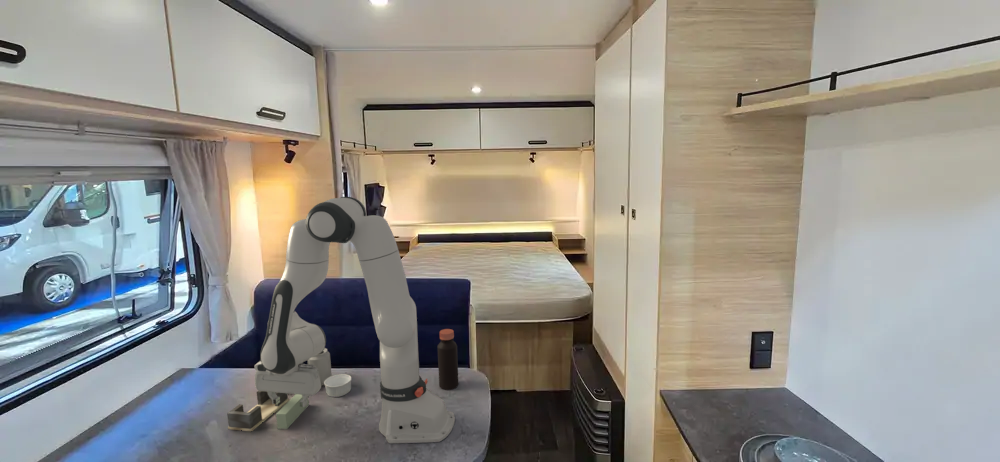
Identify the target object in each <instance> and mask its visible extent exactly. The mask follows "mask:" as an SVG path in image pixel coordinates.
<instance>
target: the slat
mask: <svg viewBox="0 0 1000 462" xmlns="http://www.w3.org/2000/svg"><path fill="white" fill-rule="evenodd" d="M302 399H304V397H302V395H300V394H293V396H292V397H291V398H290V399H289V401H288V402H287V403H286V404H284V405H283V406H282V407H281V408H280V409H278V410H277V411H276V412H275V413H276V414H275V417H276V426H277V427H276V428H277V429H278V430H288V429H289V427H291V425H292V424H293V423H294V422H295V421H296V420H297V419H298V418H299V417H300V415H301V414H302V413H303V412H304V411H305V410H306V409H307V408H308V406H310V405H309V398H308V399H307V406H305V407H300V401H302Z"/></svg>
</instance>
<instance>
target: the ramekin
mask: <svg viewBox="0 0 1000 462" xmlns="http://www.w3.org/2000/svg"><path fill="white" fill-rule="evenodd" d="M323 386H325V392H326V395H327V396H328V397H332V398H338V397H343V396H345V395H347V394H348V393H350V392H351V389H352V376H351V375H350V374H345V373H340V374H339V373H338V374H334V375H332V376H331V377H329V378H327V379H326V380H325V381H324V385H323Z"/></svg>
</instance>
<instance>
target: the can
mask: <svg viewBox="0 0 1000 462" xmlns="http://www.w3.org/2000/svg"><path fill="white" fill-rule="evenodd" d="M306 361H307V365H310V364H311V365H314V366H315V367H316V368H317V369H318V373H319V378H320V383H321V387H323V386H325V385H324V381H325V380H326V379H327V378H329V377H331V376H333V375H332V364H331V363H332V362H331V353H330V352H329V351H328V348H326V347H325V348H324V350H323V351H322V352H320V353H319V354H317V355H315V356H314V357H312V358H310V359H308V360H306Z"/></svg>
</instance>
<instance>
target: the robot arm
mask: <svg viewBox="0 0 1000 462" xmlns="http://www.w3.org/2000/svg"><path fill="white" fill-rule="evenodd" d="M348 242H350V243H352V244H353V247H354V249H355V251H356V255H357V259H358V262H359V265H360V269H361V272H362V276H363V278H364V283H365V285H366V290H367V295H368V302H369V306H370V311H371V315H372V316H371V317H372V321H373V324H374V329H375V332H376V335H377V338H378V341H379V362H380V363H379V364H380V379H381V380H380V382H379V384H380V385H379V390H380V392H379V393H380V398H381V414H380V419H379V420H380V421H379V425H378V430H379V432H380V433H381V435H383V436H384V437H385V440H386V442H387V443H388V444H411V443H413V444H415V443H417V444H418V443H420V444H421V443H439V442H442V441H443V440H445V438H447V437H448V436H449V435H450V433H452V430H453V429H454V426H455V422H456V418H455V413H454V412H453V411H451V410H447V405H446V402H445V400H444V399H443V398H442V397H440V396H438V395H437V394H435V393H434V392H432V390H430V389H428V388H427V384H428V382H429V381H428V378H425V380H423V379H422V376H421V374H420V361H419V342H418V341H419V340H418V336H419V335H418V321H417V319H418V317H417V306H416V302H415V301H414V299H413V298H412V297H411V296H410V292H409V286H408V281H407V277H406V276H407V275H406V273H405V268H404V265H403V262H402V258H401V254H400V251H399V247H398V245H397V244H398V243H397V242H396V238H395V236H394V233H393V231H392V229H391V227H390V225H389V223H388V221H387V219H386V218H384V217H383V216H380V215H377V214H376V215H374V214H373V215H372V214H371V215H367V210H366V207H365V205H364V203H362V202H361V201H360V200H358V199H357V198H354V197H351V196H341V197H335V198H330V199H327V200H325V201H322V202H320V203H317V204H316V205H314V206H313V207H312V208H311V209H310V210H309V211H308V213H307V215H306V218H304V219H300V220H298V221H296V222H294V223H293V224H292V225H291V227H290V229H289V233H288V237H287V243H286V244H287V245H286V254H285V266H284V270H283V273H282V275H281V278H280V280H279V282H278V283H277V284H276V285H275V287H274V290H273V294H272V298H271V304H270V310H269V316H268V321H267V328H266V333H265V337H264V341H263V343H262V346H261V350H260V353H259V354H260V355H259V361H258V362H257V363H256V364H254V370H255V373H254V386H255V389H256V390H257V391H266V392H268V395H269V397H270V398H271V399H272V404H276V405H277V404H278V403H279V402H280V400H279V399H280V397H277V395H276V393H275V392H277V393H287V394H289V395H290V394H292V395H295V394H300V395H302V397H304V399H302V401H300V407H305V406H307V399H308V400H309V397H310V396H315V395H316V394H317V393H318V392H319V391H320V390H321V388H322V386H321V383H320V378H319V373H318V369H317V368H316V367H315V366H314V365H311V364H310V365H308V363H307V364H305V363H304V362H306V361H307V360H308V359H310V358H312V357H314V356H315V355H317V354H319V353H320V352H322V351H323V350H324V348H326V345H327V344H326V343H327V338H326V334H325V332H324V329H323V328H322V327H321V326H319V325H317V324H315V323H310V322H308V321H306V320H304V319H302V318H301V317H300V316H299V314H298V313H297V312H296V310H295V309H296V308H297V306H298V305H299V303H300V302H301V301H302V300H303V299H304V298H306V296H308V295H309V294H310V293H312V292H313V291H314V290H316V289H317V288H318V287H320V286H321V285H322V284H323V282H324V281H325V280H326V279H327V275H328V271H329V266H330V265H329V260H330V259H329V257H330V251H329V250H330V245H331V243H335V244H336V243H338V244H348ZM307 407H308V406H307Z"/></svg>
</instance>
